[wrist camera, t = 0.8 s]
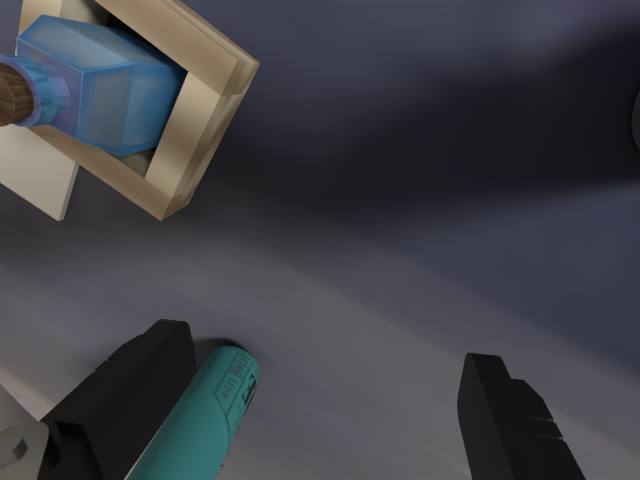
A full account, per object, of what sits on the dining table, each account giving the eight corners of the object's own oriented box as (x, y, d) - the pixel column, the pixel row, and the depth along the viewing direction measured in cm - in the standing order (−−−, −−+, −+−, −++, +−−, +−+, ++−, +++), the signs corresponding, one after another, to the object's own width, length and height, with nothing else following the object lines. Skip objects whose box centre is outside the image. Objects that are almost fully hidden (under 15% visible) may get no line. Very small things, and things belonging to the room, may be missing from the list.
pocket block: (93, -68, 23) (37, -95, 19) (260, 63, 24) (237, 60, 21) (53, 109, 29) (6, 113, 25) (187, 205, 30) (160, 221, 27)
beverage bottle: (205, 335, 37) (36, 563, 20) (258, 332, 36) (124, 580, 18) (224, 378, 40) (90, 614, 22) (275, 377, 38) (172, 634, 20)
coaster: (-5, 85, 29) (-13, 85, 29) (84, 148, 30) (78, 149, 30) (-16, 166, 33) (-22, 167, 33) (63, 219, 34) (58, 221, 34)
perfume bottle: (108, 107, 28) (-66, 122, 17) (118, 28, 25) (-83, -11, 14) (173, 142, 28) (40, 178, 18) (191, 68, 25) (45, 57, 15)
